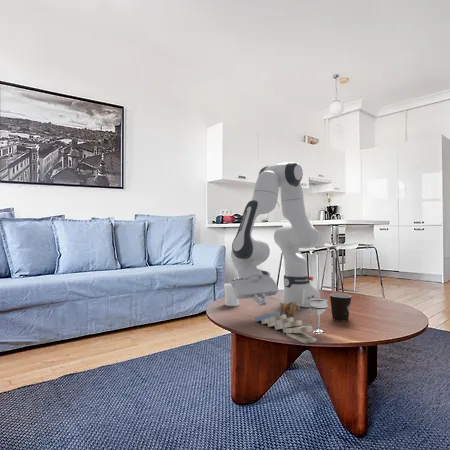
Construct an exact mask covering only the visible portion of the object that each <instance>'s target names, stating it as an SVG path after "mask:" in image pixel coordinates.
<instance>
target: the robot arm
mask: <svg viewBox="0 0 450 450" xmlns="http://www.w3.org/2000/svg"><path fill="white" fill-rule="evenodd" d="M302 168H303V167H302V166H301V165H300V163H298V162H293V161H289V162H280V163H279V162H278V163H276V164H271V165H267V166H264V167H262V168H261V169H260V171H259V172H258V177H257V178H256V182H255V184H254V185H255V186H254V189H253V194H252V197H251V199H250V200H249V201H248V202H247V204H246V206H245V207H244V210H243V213H242V217H241V221H240V223H239V226H238V230H237V232H236V235H235V237H234V239H233V241H232V244H231V252H230V259H231V261H232V264H233V266H234V269H235V270H236V272H237V276H238V278H232V279H231V280H230V283H231V285H232V287H233V290H234V294H235V297H236V298H237V299H239V300H244V299H252V300H254V301H255V302H256V303H257V305H258V306H259V307H260V306H266V305H267V301H266V297H270V296H276V294H277V293H278V292H279V287H278V285H277V283H276V281H275V280H274V279H273V277H271V273H270V272H269V271H267V270H263V269H260V268H258V267H257V266H260V265H261V264H262V263H264V262H265V261H267V259H268V258H269V256H270V254H271V253H270V252H271V251H270V247H269V244H268V243H267V242H265V241H262V240H260V239H257V238H254V237H252V232H253V228H254V225H255V223H256V219H257V217H258V216H260V215H265V214H270V213H271V212H272V211H273V212H274V210H275V209H276V208H277V207H276V206H277V202H278V199H279V188H280V203H281V212H282V216H283V218H284V219H286V220H288V222H289V224H290V225H286V226H285V225H284V226H281V227H278V228H276V230H275V231H274V234H273V240H274V243H275V244H276V245H277V247H279V249H280V250H281V253H282V256H283V259H284V275H283V294H282V299H281V301H280V303H281V305H282V304H283V303H287V304H289V303H290V302H296V305H298V307H300V308H301V307H302V308H310V301H311V300H310V298H315V297H318V298H321V293H320V290H319V289H317V288H316V287H315V286H314V285H313V284H312V283H311V282H310V281H314V279H315V278H314V276H310V275H308V261H307V258H305V256H303V255H302V253H301V252H300V249H305V250H307V249H313V248H317V246H318V245H319V243H320V241H321V235H320V232H319V230H318V229H317V228H316V227H315V226H314V225H312V223H311V222H310V220H309V218H308V216H307V213H306V207H305V199H304V192H303V187H302V184H301V181H302V179H303V175H304V173H303V169H302Z"/></svg>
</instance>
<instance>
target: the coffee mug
mask: <svg viewBox="0 0 450 450" xmlns="http://www.w3.org/2000/svg"><path fill="white" fill-rule="evenodd" d="M329 299H330V307H331V318H333V319H335V320H334V321H336V320H348V321H349V316H350V311H351V301H352V295H350V294H347V293H331V294H329ZM333 319H332V320H333Z"/></svg>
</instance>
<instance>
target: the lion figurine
mask: <svg viewBox="0 0 450 450" xmlns="http://www.w3.org/2000/svg"><path fill="white" fill-rule="evenodd" d="M300 310H301V307H299V306H298V305H296V302H290V303H289V304H287V303H283V304H282V303H281V306H280V313H279V314H280V315H285V314H286V317H287V318H291V317H293V318H294V316H295V315H297V313H299V312H300Z"/></svg>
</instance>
